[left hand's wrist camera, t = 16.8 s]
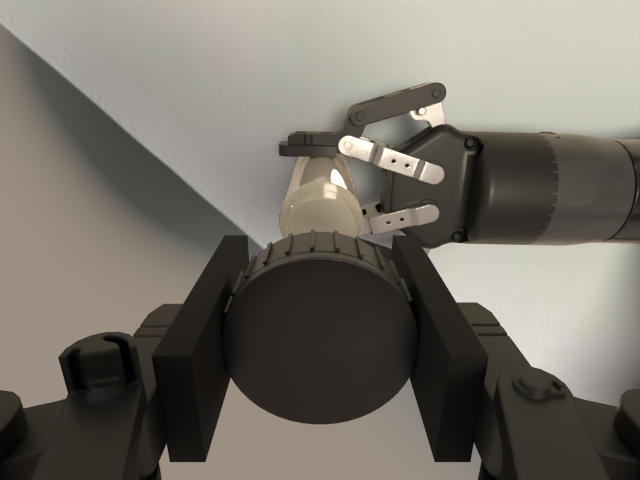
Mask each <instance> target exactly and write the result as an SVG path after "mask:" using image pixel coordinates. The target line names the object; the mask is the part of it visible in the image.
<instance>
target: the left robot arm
mask: <svg viewBox="0 0 640 480" xmlns="http://www.w3.org/2000/svg"><path fill="white" fill-rule="evenodd" d="M391 261H393V263H394V264H395V267H396V269H397V272H398V274H399V277H400V279H401V278H403V279H404V281H405V284H406V286H407V288H408V291H409V293H410V295H411V298H412V300H413V303H411V307H412V309H413V312H414V314H415V317H416V320H417V324H418V329H419V347H418V356H417V360H416V364H415V366H414V369H413V371H412V373H411V375H410V380H411V384H412V387H413V390H414V394H415V397H416V400H417V404H418V407H419V410H420V414H421V417H422V420H423V424H424V427H425V430H426V434H427V437H428V440H429V444H430V447H431V451H432V454H433V457H434V460H435V462H470V461H471V455H472V449H473V444H474V443H475V445H476V448H477V450H478V452H479V455H480V457H481V459H482V461H481V467H480V472H479V477H478V480H640V389H633V390H627V391H626V392H625V393H624V394H623V395H621V398H620V401H619V404H618V407H615V406H611V405H606V404H601V403H597V402H592V401H588V400H583V399H580V398H576V397H573V395H572V393H571V391H570V390H569V389H568V387H567V386H566V384H565V383H563V382H562V381H561V380H559V379H558V378H557V377H555V376H554V375H552V374H550V373H548V372H545V371H543V370H541V369H537V368H534V367H531V365H530V364H529V363H528V361H527V360H526V359H525V357H524V356H523V354H522V353H521V352H520V350H519V349H518V348H517V346H516V345H515V344H514V342H513V341H512V340H511V338H510V337H509V336H507V333H506V331H505V330H504V329H503V327H502V326H500V323H499V322H498V320H497V319H496V318H495V316H494V315H493V314H492V312H490V311H489V310H487V309H486V308H484V307H483V306H481V305H480V304H478V303H456V301H455V300H454V298H453V296H452V295H451V293H450V292H449V290H448V288H447V287H446V285H445V283H444V282H443V280H442V278H441V277H440V275H439V274H438V272H437V270H436V269H435V267H434V265H433V264H432V262H431V260H430V259H429V257H428V255H427V254H426V252H425V251H424V249H423V247H422V246H421V244H420V242H419V241H418V239H417V237H416V236H393V243H392V258H391ZM248 265H249V254H248V239H247V236H224V238H223V239H222V241H221V243H220V244H219V246H218V248H217V249H216V251H215V253H214V254H213V256H212V258H211V259H210V261H209V262H208V264H207V266H206V267H205V269H204V271H203V272H202V274H201V276H200V277H199V279H198V281H197V282H196V284H195V285H194V287H193V289H192V290H191V292H190V294H189V295H188V297H187V299H186V300H185V302H184V304H163V305H161V306H160V307H158V308H157V309H155V310H154V311H152V312H151V313H149V314H148V316H147V317H146V319H145V320H144V321H143V323H142V324H141V326H140V328H138V329H137V331H136V332H135V334H134V335H133V337H132V336H131V335H129V334H125V333H121V332H105V333H100V334H96V335H92V336H89V337H86V338H84V339H82V340H79V341H77V342H75V343H74V344H72V345H71V346H69V347H68V348H66V349H65V350H64V351H63V353H62V354H61V355H60V356H59V357H58V358H59V362H60V365H61V369H62V372H63V376H64V380H65V383H66V387H67V391H68V395H67V398H66V399H64V400H60V401H56V402H52V403H47V404H43V405H38V406H33V407H29V408H24V409H23V406H22V403H21V400H20V397H19V396H17V395H16V394H15V393H14V392H9V391H2V390H1V391H0V480H161V473H160V467H159V460H160V458H161V455H162V453H163V450H164V448H165V446H166V443H167V448H168V453H169V459H170V462H205V461H206V458H207V454H208V451H209V448H210V445H211V441H212V438H213V435H214V431H215V428H216V425H217V421H218V418H219V415H220V411H221V408H222V405H223V401H224V398H225V394H226V391H227V388H228V385H229V381H230V378H231V376H230V375H229V373H228V370H227V368H226V365H225V363H224V359H223V354H222V344H221V331H222V326H223V322H224V318H225V316H224V315H223V313H224V310H225V308H226V305H227V303H228V301H229V298H230V296H231V293H232V290H233V288H234V285H235V283H236V281H237V278H238V276H239V274H240V272H241V271H242V272H244V271H245V269H246V268H247V266H248Z"/></svg>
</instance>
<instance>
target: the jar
mask: <svg viewBox="0 0 640 480" xmlns="http://www.w3.org/2000/svg"><path fill="white" fill-rule="evenodd" d="M280 229H281V233H282V235H283V238H287V237H288V234H291V233H292V234H293V235H297V234H301V233H308V232H311V230H313V229H315V232H333V233H334V230H336V231H338V233H340V234H343V235H347V236H351V237H353V238H356V236H358V237H360V235H361V233H362V229H363V213H362V209H361V206H360V203H359V200H358V197H357V194H356V191H355V188H354V184H353V181H352V178H351V175H350V172H349V169H348V166H347V163H346V160H345V157H344V155H343V154H336V157H298V159H297V163H296V166H295V169H294V172H293V175H292V178H291V181H290V184H289V188H288V191H287V194H286V197H285V200H284V203H283V206H282V210H281V213H280Z"/></svg>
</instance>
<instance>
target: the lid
mask: <svg viewBox="0 0 640 480" xmlns="http://www.w3.org/2000/svg"><path fill="white" fill-rule="evenodd" d="M411 303H413V300H412V298H411V295H410V293H409V291H408V288H407V286H406V284H405V281H404V279H403V278H401V279H400V277H399V274H398V272H397V269H396V267H395V264H394V263H393V261H391V262H389V261H388V260H387V259H386V258H385V257H384V256H383V255H382V254H381V253H380V250H379V248H378V247H375V248H373V247H372V246H370V245H368V244H366V243H365V242H363V241H361V240H360V237H358V236H356V238H353V237H351V236H347V235H343V234H340V233H338V231H336V230H334V233H333V232H315V229H313V230H311V232H308V233H301V234H297V235H293V234H292V233H291V234H288V237H287V238H284V239H282V240H279V241H278V242H276V243H274V244H272V242H270V243H269V244H268V246H267V248H266V249H265V250H263V251H262V252H260V253H259V254H258V255H257V256H255V255H253V256H252V257H251V260H250V262H249V265H248V266H247V268H246V269H245V271H244V272H242V271H241V272H240V274H239V276H238V278H237V281H236V283H235V285H234V288H233V290H232V293H231V296H230V298H229V301H228V303H227V305H226V308H225V310H224V313H223V315H224V316H225V318H224V322H223V326H222V331H221V344H222V354H223V359H224V363H225V365H226V368H227V370H228V373H229V375H230V376H231V378H232V380H233V381H234V383H235V384H236V386H237V387H238V388H239V389H240V391H241V392H242V393H243V394H244V395H245V396H246V397H247V398H248V399H249V400H251V401H252V402H253V403H255V404H256V405H257V406H259V407H260V408H262V409H264V410H266V411H267V412H269V413H271V414H274V415H276V416H278V417H281V418H284V419H287V420H290V421H295V422H299V423H307V424H334V423H341V422H346V421H350V420H353V419H356V418H360V417H362V416H364V415H367V414H369V413H371V412H373V411H375V410H376V409H378V408H380V407H381V406H383V405H384V404H386V403H387V402H388V401H390V400H391V399H392V398H393V397H394V396H395V395H396V394H397V393H398V392H399V391H400V390H401V388H402V387H403V386H404V385H405V383H406V382H407V380H408V379H409V377H410V375H411V373H412V371H413V369H414V366H415V364H416V360H417V356H418V347H419V329H418V324H417V320H416V317H415V314H414V312H413V309H412V307H411Z"/></svg>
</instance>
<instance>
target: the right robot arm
mask: <svg viewBox="0 0 640 480" xmlns="http://www.w3.org/2000/svg"><path fill="white" fill-rule="evenodd" d="M445 96H446V89H445V87H444V85H443V84H441V83H424V84H421V85H417V86H414V87H411V88H407V89H404V90H401V91H398V92H394V93H391V94H388V95H385V96H381V97H378V98H375V99H371V100H368V101H365V102H362V103H358V104H355V105H353V106H351V107H350V108H349V110H348V114H347V117H346V119H345V122H344V124H343V126H342V128H341V129H340V130H338V131H336V132H305V131H297V132H294V133H292V134H290V135H289V136H288V141H281V142H280V143H279V155H280V156H296V157H336V154H344V155H347V156H350V157H354V158H357V159H360V160H363V161H366V162H369V163H371V164H373V165H375V166H378V167H381V168H383V170H382V173H383V178H384V186H383V189H382V192H381V196H380V201H377V202H373V203H369V204H366V205H365V206H363V207H361V209H362V213H363V229H362V233H361V235H365V234H381V233H385V232H389V231H393V230H397V229H399V230H400V231H402V232H403V233H404V234H406V235H407V236H416V237H417V239H418V241H419V242H420V244H421V246H422V247H423V249H424V251H425V252H426V254H427V255H428V253H429V251H430V249H434V248H437V247H439V246H441V245H444V244H447V243H453V242H454V243H466V244H513V245H575V244H583V243H634V244H640V140H634V139H601V138H594V137H589V136H583V135H574V134H556V133H552V132H540V133H502V132H465V131H459V130H457V129H456V128H454V127H453V126H451V125H448V124H446V120H445V115H444V109H443V104H442V101H443V99H444V98H445ZM407 112H408V115H409V117H410V118H412V119H414V120H418V121H420V120H425V121H426V122H427V123H428V127H427V128H425V129H424V130H423V131H421V132H420V133H418V134H417V135H415V136H414V137H412V138H411V139H409V140H408V141H406V142H405V143H403V144H402V145H400V146H399V147H395V146H391V145H388V144H385V143H382V142H379V141H376V140H371V139H368V138H365V137H362V136H361V135H362V132H363V130H364V128H365V125H367V124H370V123H374V122H377V121H380V120H384V119H387V118H390V117H394V116H397V115H401V114H404V113H407ZM381 209H382V210H381ZM280 213H281V212H280ZM387 221H389V222H387ZM361 235H360V236H361ZM360 240H361V241H363V242H365V243H366V244H368V245H370V246H372V247H373V248H375V247H378V248H379V250H380V253H381V254H382V255H383V256H384V257H385V258H386V259H387V260H388V261H389V262H391V258H392V249H390V248H387V247H384V246H381V245H378V244H375V243H372V242H369V241H366V240H363V239H360Z"/></svg>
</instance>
